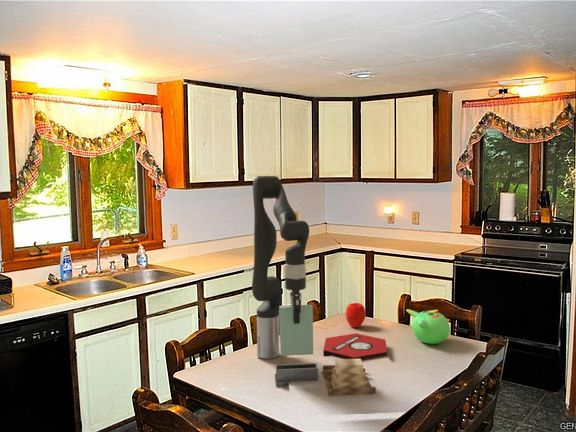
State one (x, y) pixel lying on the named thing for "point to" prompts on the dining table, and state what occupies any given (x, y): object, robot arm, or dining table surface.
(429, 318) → the toy bird
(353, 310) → the apple
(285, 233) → the robot arm
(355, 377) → the block
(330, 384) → the rack
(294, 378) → the stand
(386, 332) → the dining table surface
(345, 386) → the block
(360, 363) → the offcut top
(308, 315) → the panel
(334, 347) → the plaque
